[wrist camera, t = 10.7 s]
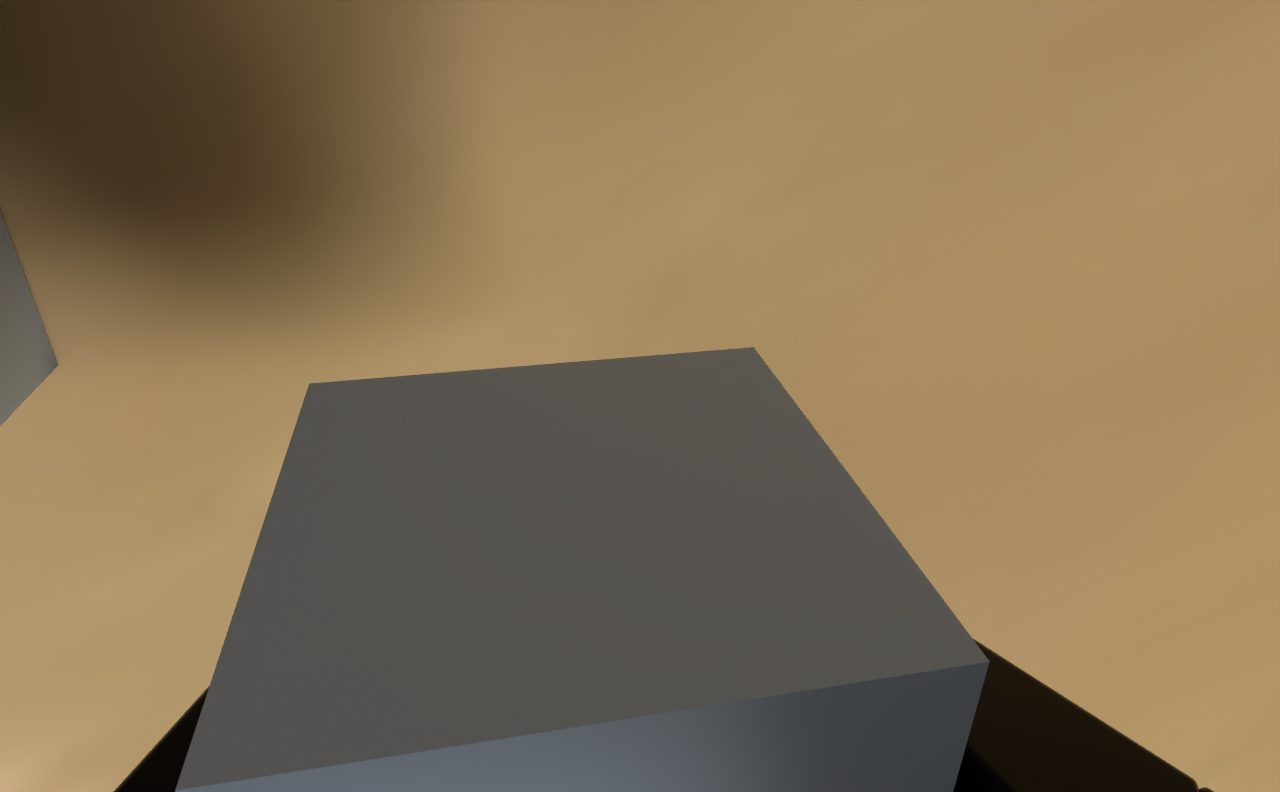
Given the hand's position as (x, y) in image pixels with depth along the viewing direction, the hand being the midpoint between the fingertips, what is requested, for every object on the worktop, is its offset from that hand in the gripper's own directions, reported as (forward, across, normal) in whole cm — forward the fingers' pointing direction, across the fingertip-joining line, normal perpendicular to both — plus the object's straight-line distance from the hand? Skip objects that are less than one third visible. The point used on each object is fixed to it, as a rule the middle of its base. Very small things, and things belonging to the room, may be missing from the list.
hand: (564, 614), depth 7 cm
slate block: (+1, 0, 0) cm, 1 cm away
